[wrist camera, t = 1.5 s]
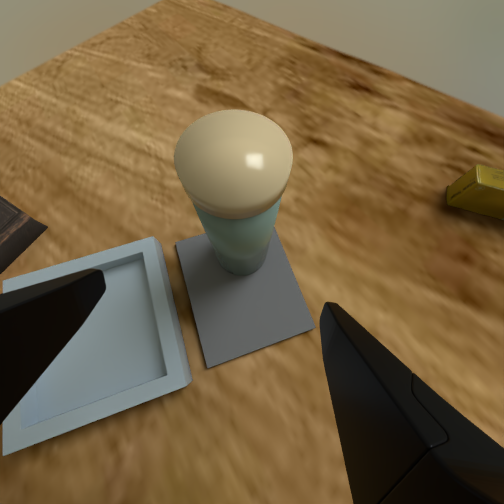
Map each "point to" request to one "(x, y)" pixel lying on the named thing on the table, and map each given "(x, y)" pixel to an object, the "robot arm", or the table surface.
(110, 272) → the dish
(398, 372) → the robot arm
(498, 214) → the medication box
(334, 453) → the table surface
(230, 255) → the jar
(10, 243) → the hardcover book
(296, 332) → the mat
